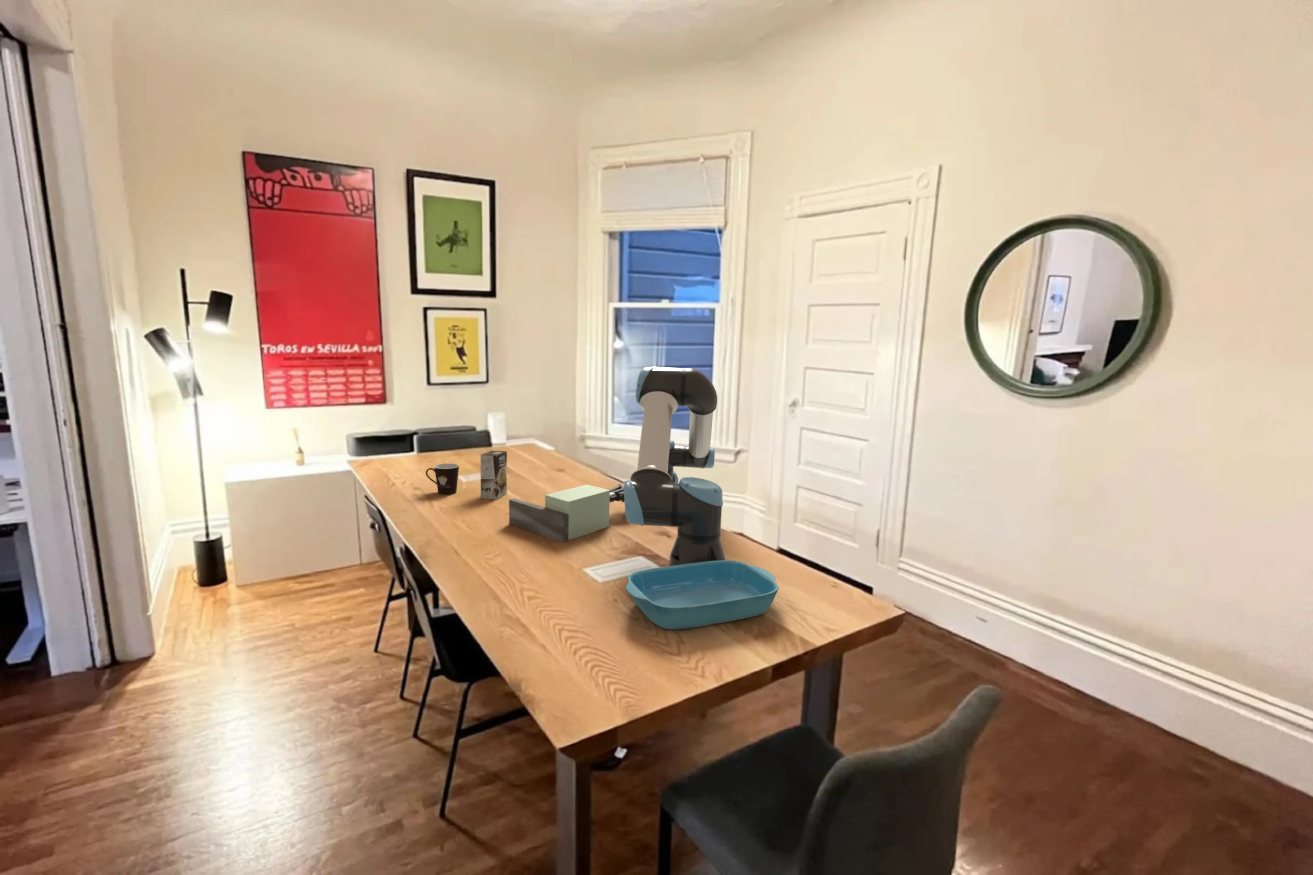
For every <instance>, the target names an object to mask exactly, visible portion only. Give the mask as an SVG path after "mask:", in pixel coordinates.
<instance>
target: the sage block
mask: <svg viewBox="0 0 1313 875" xmlns="http://www.w3.org/2000/svg"><path fill="white" fill-rule="evenodd" d="M544 497H545V498H544V507H546V508H549V509H553V510H556V511H559V512H562V513H566V514H569V533H568V541H570V540H572V539H573V540H574V539H576V538H580V537H582V536H585V535H587V534H590V533H591V534H592V533H594V532H597V531H601V530H603V529H606V528H609V527H610V504H611V502H610V489H607V488H606V489H605V488H603V487H599V486H595V485H592V484H584V485H580V486H576V487H572V488H567V489H564V490H559V491H556V492H552V493H548V494H545V496H544Z"/></svg>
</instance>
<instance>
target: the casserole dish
mask: <svg viewBox="0 0 1313 875" xmlns="http://www.w3.org/2000/svg"><path fill="white" fill-rule="evenodd" d="M779 588H780V587H779V584H778V583H777V582H776V576H775V575H774V574H772V573H771V572H769V571H768V570H767V569H764V568H762V567H759V566H756V565H750V563H749V564H748V563H746V562H743V561H740V560H734V559H733V560H730V559H725V560H718V561H707V562H698V563H690V564H682V565H674V566H671V565H668V566H660V567H653V568H648V569H641V570H637V571H634V572H632V573H630V574H629V575H628V577H627V584H626V585H625V591H626V592H627V594H629V596H631V598H632V600H633V602H634V603H635V605H636V606H637V607H638V608H639V609H640V611H641V612H642V613H643V614H644V615H645V616H646V617H647V618H648V620H649V621H651V622H652V623H653V624H655V625H656V626H658V627H659V628H661V629H663V630H684V629H691V628H698V627H704V626H710V625H717V624H723V623H729V622H734V621H738V620H740V621H741V620H744V619H748V618H749V619H750V618H754V617H757V616H761V615H763V614H764V613H765V612H767V611H768V610H769V608H771V606H772V604H773V602H774V601H775V598H776V596H777V593H778V591H779Z"/></svg>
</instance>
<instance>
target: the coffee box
mask: <svg viewBox="0 0 1313 875" xmlns="http://www.w3.org/2000/svg"><path fill="white" fill-rule="evenodd" d="M507 494H508V451H507V450H505V451H504V450H492V449H491V450H489V451H487V452H483V453H481V454H480V499H487V500H493V501H494V500H498V499H500V498H502V497H504V496H505V495H507Z"/></svg>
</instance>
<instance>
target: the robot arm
mask: <svg viewBox="0 0 1313 875" xmlns="http://www.w3.org/2000/svg"><path fill="white" fill-rule="evenodd" d="M635 402H636V404H639V405H640V409H641V410H642V411H643V416H642V425H641V432H640V442H639V450H638V457H637V458H638V460H637V467H636V470H635V471H633V473H632V474H631V476H630V480H629V479H628V480H625V481H624V482H623V485H622V484H621V483H620V484H617V485H616V486H613V487H612V488H610V489H609V490H610V503H613V502H620V501H621V502H622V503H624V513H625V520H626V521H627V522H628V523H629V524H631V525H640V526H657V527H672V528H677V534H676V539H675V541H674V544H673V546H672V549H671V551H670V555H669V564H670V565H669V566H674V565H682V564H690V563H698V562H707V561H718V560H726V554H725V552H724V548H723V544H722V540H721V533H722V532H721V531H722V530H721V529H722V510H723V509H722V508H723V505H724V501H723V490H722V488H721V486H720V485H719V484H718V483H715V482H714V481H711V480H708V479H704V478H700V477H693V476H689V477H688V476H687V477H681V478H680V480H679V477H678V474H677V473H676V471H674V467H676V468H677V467H678V468H694V469H712V468H714V466H715V455H716V451H715V448H713V447H711V440H712V439H711V438H712V428H713V419H714V418H713V417H714V412H715V410H716V409H717V406H718V394H717V390H716V389H715V386H714V384H713V383H712V381H711V380H710V379H709V377H707V376H706V375H705V374H704V373H703V372H702V371H699V370H698V369H694V368H688V367H687V368H685V367H683V368H682V367H681V368H680V367H663V366H660V367H659V366H645V367H643V368H641V370H640V371H639V374H638V378H637V382H636V389H635ZM678 407H687V409H688V410H689V424H688V426H689V427H688V430H689V431H688V445H687V446H686V445H676V442H675V441H674V440H673V439H671V435H672V434H671V433H672V419H673V418H672V417H673V414H675V413H676V412H677V410H678Z"/></svg>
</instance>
